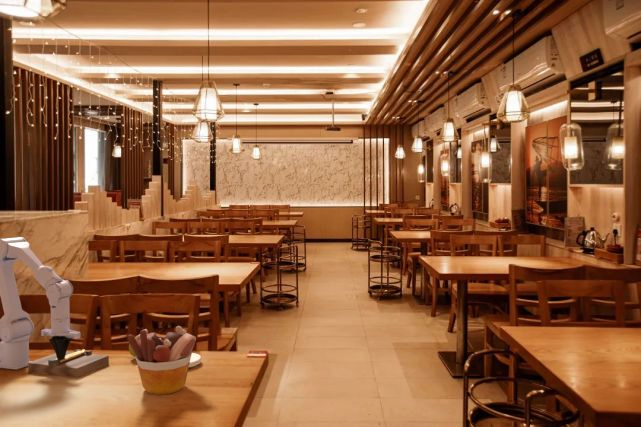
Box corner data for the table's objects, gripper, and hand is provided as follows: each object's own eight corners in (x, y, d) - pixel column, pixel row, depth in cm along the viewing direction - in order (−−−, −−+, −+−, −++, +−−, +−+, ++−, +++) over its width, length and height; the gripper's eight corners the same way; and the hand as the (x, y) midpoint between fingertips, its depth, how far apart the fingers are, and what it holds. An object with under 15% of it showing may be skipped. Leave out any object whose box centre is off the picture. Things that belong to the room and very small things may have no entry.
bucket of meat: (164, 376, 180) (163, 314, 179) (206, 383, 173) (205, 319, 172) (117, 396, 162) (116, 328, 161) (161, 405, 154) (160, 334, 154)
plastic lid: (186, 357, 202) (186, 350, 202) (209, 365, 192) (208, 357, 192) (151, 365, 192) (151, 358, 192) (173, 374, 182) (172, 367, 182)
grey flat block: (28, 371, 185) (28, 358, 185) (62, 359, 199) (62, 346, 199) (76, 377, 179) (76, 363, 178) (108, 364, 193) (108, 350, 193)
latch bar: (53, 362, 184) (53, 359, 184) (80, 352, 196) (80, 349, 196) (60, 363, 183) (60, 360, 183) (87, 353, 195) (87, 350, 195)
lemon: (140, 360, 196) (139, 338, 196) (126, 360, 198) (125, 337, 197) (148, 356, 202) (147, 334, 202) (134, 355, 203) (133, 333, 203)
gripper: (33, 319, 184) (34, 360, 184) (68, 322, 179) (69, 364, 179) (50, 314, 190) (51, 354, 191) (84, 317, 186) (85, 357, 186)
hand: (61, 358), depth 185 cm, fingers closed
